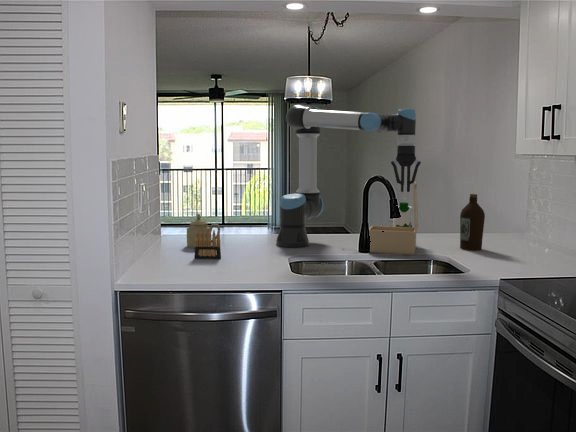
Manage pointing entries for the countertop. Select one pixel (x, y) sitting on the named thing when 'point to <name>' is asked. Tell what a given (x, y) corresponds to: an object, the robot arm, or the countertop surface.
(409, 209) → the milk carton
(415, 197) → the carton flap
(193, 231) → the sugar bowl
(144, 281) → the countertop surface
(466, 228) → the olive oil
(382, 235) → the carton
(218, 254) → the ammunition clip
